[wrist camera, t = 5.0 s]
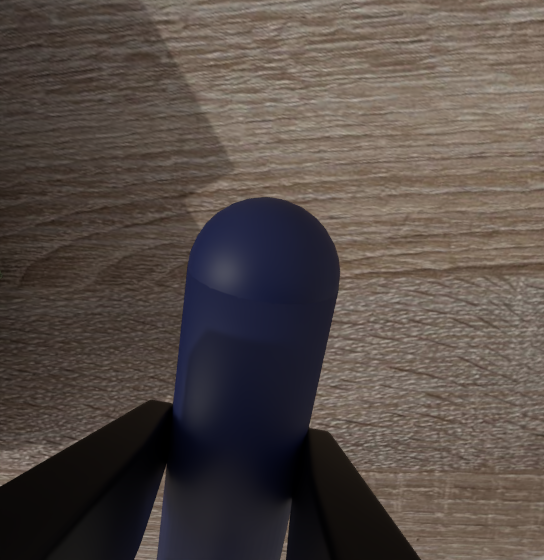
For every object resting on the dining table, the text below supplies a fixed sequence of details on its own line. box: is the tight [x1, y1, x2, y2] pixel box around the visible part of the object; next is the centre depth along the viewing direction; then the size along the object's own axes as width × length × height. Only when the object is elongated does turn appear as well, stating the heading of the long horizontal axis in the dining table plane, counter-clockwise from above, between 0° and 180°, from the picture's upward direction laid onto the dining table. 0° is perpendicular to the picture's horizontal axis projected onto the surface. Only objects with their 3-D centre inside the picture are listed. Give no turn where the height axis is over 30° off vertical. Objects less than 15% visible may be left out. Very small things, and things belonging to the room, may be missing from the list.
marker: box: [157, 197, 340, 560], centre depth 8 cm, size 8×2×2 cm, turn 171°
